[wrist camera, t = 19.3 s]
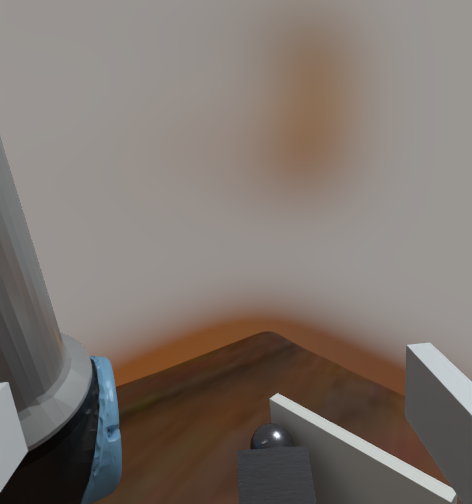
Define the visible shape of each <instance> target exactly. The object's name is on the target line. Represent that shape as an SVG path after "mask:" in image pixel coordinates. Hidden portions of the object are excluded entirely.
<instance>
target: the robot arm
mask: <svg viewBox="0 0 472 504" xmlns="http://www.w3.org/2000/svg"><path fill="white" fill-rule="evenodd" d="M405 418H406V419H407V421H408V422H409V424H410V425H411V427H412V428H413V430H414V431H415V433H416V434H417V436H418V437H419V439H420V440H421V442H422V443H423V445H424V446H425V448H426V449H427V451H428V452H429V454H430V455H431V457H432V458H433V460H434V461H435V463H436V464H437V466H438V467H439V469H440V470H441V472H442V473H443V475H444V476H445V478H446V479H447V481H448V482H449V484H450V485H451V487H452V488H453V490H454V491H455V493H456V494H457V496H458V497H459V499H460V500H461V502H462V503H463V504H472V382H471V381H470V380H469V379H468V378H467V377H466V376H465V375H464V374H463V373H462V372H460V371H459V370H458V369H457V368H456V367H455V366H454V365H453V364H452V363H451V362H450V361H449V360H448V359H447V358H446V357H445V356H443V354H441V353H440V352H439V351H438V350H437V349H436V348H435V347H434V346H433V345H432V344H431V343H422V344H410V345H407V346H406V385H405ZM121 472H122V451H121V437H120V430H119V413H118V403H117V395H116V388H115V382H114V376H113V370H112V366H111V363H110V361H109V360H108V359H107V358H105V357H95V356H91V357H89V356H88V353H87V351H86V349H85V348H84V347H83V346H82V345H81V343H80V342H78V341H77V340H75V339H74V338H72V337H70V336H68V335H66V334H63V333H60V331H59V328H58V324H57V321H56V318H55V314H54V311H53V308H52V305H51V301H50V298H49V295H48V292H47V288H46V285H45V282H44V279H43V276H42V272H41V269H40V265H39V262H38V259H37V256H36V252H35V249H34V246H33V243H32V240H31V236H30V233H29V230H28V226H27V223H26V220H25V217H24V213H23V210H22V207H21V203H20V200H19V197H18V194H17V190H16V187H15V184H14V181H13V177H12V174H11V171H10V167H9V164H8V161H7V158H6V154H5V151H4V148H3V145H2V141H1V138H0V504H92V503H94V502H96V501H98V500H101V499H103V498H105V497H107V496H109V495H110V494H111V493H112V492H113V491H114V490H115V489H116V487H117V486H118V484H119V481H120V478H121Z"/></svg>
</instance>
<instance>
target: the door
mask: <svg viewBox="0 0 472 504" xmlns="http://www.w3.org/2000/svg"><path fill="white" fill-rule="evenodd" d="M270 410H271V422H272V423H274V424H278V425H280V426H282V427H283V428H285V429H286V430H287V432H288V433H289V434H290V436H291V438H292V441H293V447H297V446H308V452H309V458H310V464H311V471H312V477H313V483H314V489H315V496H316V502H317V504H457V494H456V493H455V491H454V490H453V488H451V487H449V486H447V485H445V484H444V483H442V482H440V481H438V480H436V479H434V478H432V477H431V476H429V475H427V474H425V473H423V472H421V471H420V470H418V469H416V468H414V467H412V466H410V465H409V464H407V463H405V462H403V461H401V460H399V459H398V458H396V457H394V456H392V455H390V454H388V453H387V452H385V451H383V450H381V449H379V448H377V447H376V446H374V445H372V444H370V443H368V442H366V441H365V440H363V439H361V438H359V437H357V436H355V435H354V434H352V433H350V432H348V431H346V430H344V429H342V428H341V427H339V426H337V425H335V424H333V423H331V422H330V421H328V420H326V419H324V418H322V417H320V416H319V415H317V414H315V413H313V412H311V411H309V410H308V409H306V408H304V407H302V406H300V405H298V404H297V403H295V402H293V401H291V400H289V399H287V398H286V397H284V396H282V395H280V394H278V393H277V394H276V395H274V396H273V397H271V398H270Z"/></svg>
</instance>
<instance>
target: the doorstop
mask: <svg viewBox="0 0 472 504" xmlns="http://www.w3.org/2000/svg"><path fill="white" fill-rule="evenodd" d="M250 449H251V450H238V451H237V453H238V481H239V504H317V502H316V496H315V489H314V483H313V477H312V471H311V464H310V458H309V452H308V446H297V447H293V441H292V438H291V436H290V434H289V433H288V432H287V430H286V429H285V428H283V427H282V426H280V425H278V424H274V423H268V424H264V425H262V426H260V427H259V428H258V429H257V430H256V431H255V432H254V434H253V436H252V439H251V444H250Z"/></svg>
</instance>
